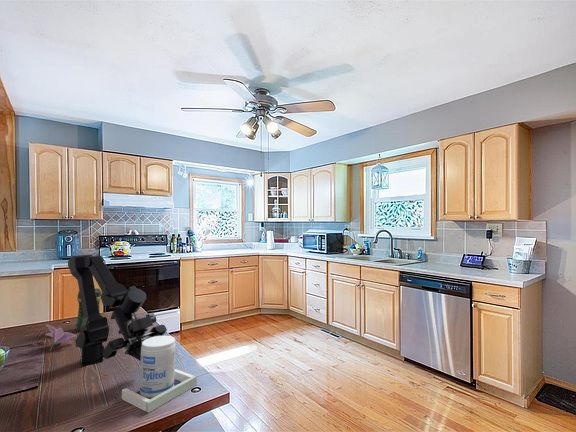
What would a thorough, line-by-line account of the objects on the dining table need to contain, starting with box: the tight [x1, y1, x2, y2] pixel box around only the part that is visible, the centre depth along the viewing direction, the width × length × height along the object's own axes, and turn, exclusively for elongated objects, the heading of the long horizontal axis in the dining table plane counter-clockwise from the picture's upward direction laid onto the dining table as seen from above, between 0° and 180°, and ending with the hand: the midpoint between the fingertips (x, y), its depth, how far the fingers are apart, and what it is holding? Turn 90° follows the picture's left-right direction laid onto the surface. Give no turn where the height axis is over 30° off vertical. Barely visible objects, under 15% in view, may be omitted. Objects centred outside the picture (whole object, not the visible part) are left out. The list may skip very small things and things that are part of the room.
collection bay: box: [121, 368, 198, 413], centre depth 91 cm, size 12×16×2 cm
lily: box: [45, 323, 77, 352], centre depth 123 cm, size 12×12×10 cm
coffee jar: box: [75, 287, 102, 331], centre depth 146 cm, size 10×8×19 cm
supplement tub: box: [139, 335, 176, 399], centre depth 92 cm, size 10×10×15 cm
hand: (148, 363), depth 94 cm, fingers closed, pressing on supplement tub
